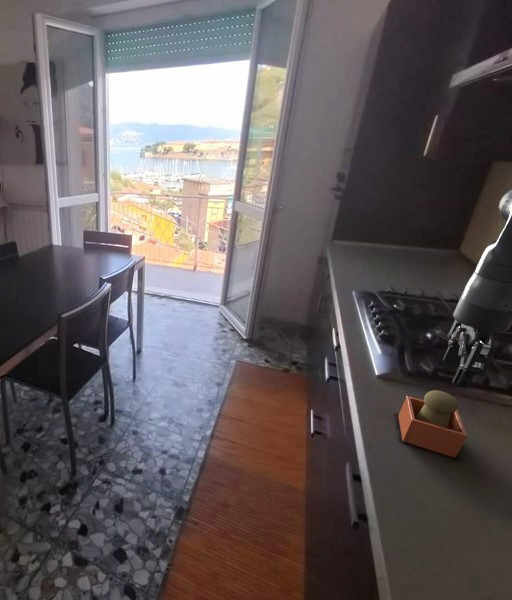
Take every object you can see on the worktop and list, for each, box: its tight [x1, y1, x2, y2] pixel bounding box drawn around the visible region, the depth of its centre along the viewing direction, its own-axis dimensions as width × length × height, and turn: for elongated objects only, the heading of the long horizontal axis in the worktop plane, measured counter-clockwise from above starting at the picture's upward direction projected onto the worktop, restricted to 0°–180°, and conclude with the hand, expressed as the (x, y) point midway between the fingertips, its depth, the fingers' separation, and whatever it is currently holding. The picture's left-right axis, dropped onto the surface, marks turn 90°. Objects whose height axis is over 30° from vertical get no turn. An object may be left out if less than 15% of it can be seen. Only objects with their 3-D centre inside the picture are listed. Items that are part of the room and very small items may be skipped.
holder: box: [397, 395, 468, 459], centre depth 76 cm, size 9×9×6 cm
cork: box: [415, 389, 459, 428], centre depth 75 cm, size 6×6×11 cm
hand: (454, 373), depth 70 cm, fingers open, 8 cm apart
